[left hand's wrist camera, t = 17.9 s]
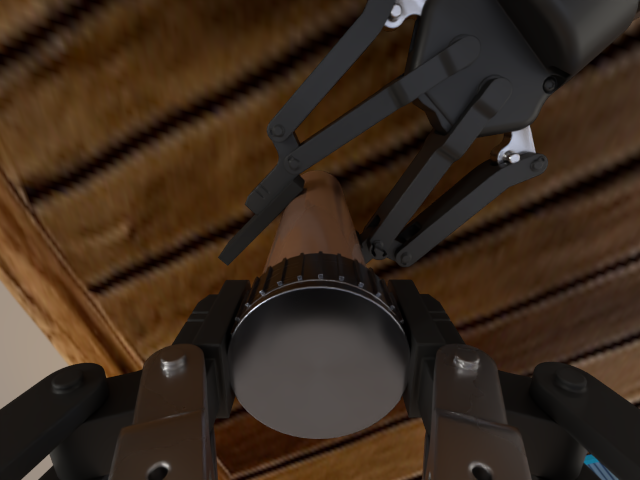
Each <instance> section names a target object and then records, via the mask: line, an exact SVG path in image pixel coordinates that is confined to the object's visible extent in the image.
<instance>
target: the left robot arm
mask: <svg viewBox="0 0 640 480" xmlns="http://www.w3.org/2000/svg"><path fill="white" fill-rule="evenodd" d="M387 288H388V291H389V293H391V292H392V293H393V295H394V298H395V300H396V303H397V305H398V308H399V310H400V313H401V315H402V318H403V320H404V324H402V325H403V328H404V330H405V333H406V335H407V339H408V342H409V346H410V350H411V358H410V368H409V377H408V385H407V387H406V390H405V392H404V394H403V399H404V402H405V406H406V409H407V413H408V416H409V417H422V420H423V423H424V426H425V429H426V434H425V444H424V459H423V475H422V480H602V479H600V478H599V477H598V476H597V475H596V474H595V473H594V472H593V471H592V470H591V469H590V468H589V467H588V466H587V465H586V464H585V463H584V460H585V457H586V454H587V452H589V453H590V454H592V455H593V456H594V457H595V458H596V459H597V460H598V461H599V462H600V463H601V464H602V465H604V466H605V467H606V468H607V469H608V470H609V471H610V472H611V473H612V474H613V475H614V476H615V477H617V478H618V479H619V480H640V409H638V408H637V407H636V406H634V405H633V404H631V403H630V402H628V401H627V400H626V399H624V398H623V397H621V396H620V395H619V394H617V393H616V392H614V391H613V390H611V389H610V388H609V387H607V386H606V385H604V384H603V383H602V382H600V381H599V380H597V379H596V378H595V377H593V376H592V375H590V374H588V373H587V372H585V371H583V370H581V369H579V368H576V367H574V366H571V365H568V364H564V363H559V362H544V363H541V364H539V365H537V366H536V367H535V369H534V373H533V377H532V378H530V377H526V376H521V375H516V374H512V373H507V372H503V371H499V370H497V366H496V363H495V362H494V360H493V359H492V358H491V357H490V356H489V355H488V354H486V353H485V352H483V351H481V350H480V349H477V348H475V347H472V346H469V345H466V344H465V343H464V341H463V339H462V338H461V336H460V335H459V333H458V331H457V330H456V328H455V326H454V325H453V323H452V322H451V321H450V318H449V317H448V315H447V314H446V313H445V310H444V309H443V307H442V305H441V304H440V302H438V301H437V300H436V299H434V298H433V297H431V296H430V295H429V294H419V292H418V290H417V288H416V286H415V285H414V283H413V281H412V280H389V281H388V287H387ZM250 289H251V286H250V281H249V280H226V281H225V283H224V285H223V287H222V288H221V290H220V292H219V294H218V295H208V296H207V297H206V298H204V299H203V300H201V301H200V302H198V304H197V306H196V307H195V309H194V310H193V313H192V314H191V315H190V317H189V318H188V321H187V322H186V323H185V325H184V326H183V328H182V329H181V331H180V333H179V334H178V336H177V337H176V339H175V341H174V342H173V344H172V345H171V346H168V347H165V348H163V349H160V350H159V351H157V352H155V353H154V354H152V355H151V356H150V357H149V358H148V359H147V360H146V362H145V363H144V366H143V369H142V370H139V371H136V372H132V373H128V374H123V375H119V376H114V377H109V378H106V375H105V371H104V369H103V367H102V366H100V365H98V364H95V363H80V364H75V365H71V366H68V367H65V368H62V369H60V370H58V371H56V372H54V373H52V374H50V375H49V376H47V377H46V378H44V379H43V380H41V381H40V382H38V383H37V384H36V385H34V386H33V387H31V388H30V389H29V390H27V391H26V392H24V393H23V394H21V395H20V396H19V397H17V398H16V399H14V400H13V401H12V402H10V403H9V404H7V405H6V406H5V407H3V408H2V409H0V480H21V479H22V478H23V477H24V476H26V475H27V474H28V473H29V472H30V471H31V470H32V469H33V468H34V467H35V466H36V465H38V464H39V463H40V462H41V461H42V460H43V459H44V458H45V457H46V456H47V455H48V454H50V457H51V460H52V463H53V466H52V467H51V468H50V469H49V470H48V471H47V472H46V473H45V474H44V475H43V476H42V477H41V478H40V479H38V480H218V475H217V460H216V444H215V434H214V427H213V425H214V422H215V419H216V418H229V415H230V412H231V408H232V405H233V402H234V398H235V394H234V392H233V390H232V388H231V386H230V380H229V371H228V361H227V348H228V344H229V341H230V338H231V334H230V333H231V331H232V328H233V326H234V323H235V318H236V315H237V313H238V310H239V308H240V305H241V303H242V300H243V298H244V296H245V293H246V291H247V290H250Z"/></svg>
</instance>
